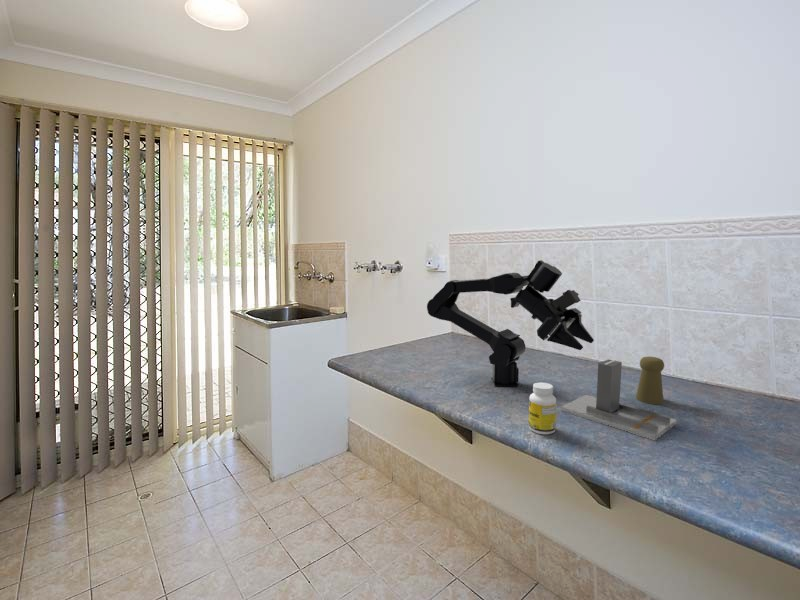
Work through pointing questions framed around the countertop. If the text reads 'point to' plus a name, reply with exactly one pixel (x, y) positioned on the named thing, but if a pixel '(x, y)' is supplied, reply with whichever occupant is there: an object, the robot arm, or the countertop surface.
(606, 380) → the fader tab
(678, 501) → the countertop surface
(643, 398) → the cork
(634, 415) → the plate
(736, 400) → the countertop surface
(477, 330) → the robot arm
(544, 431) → the supplement bottle
